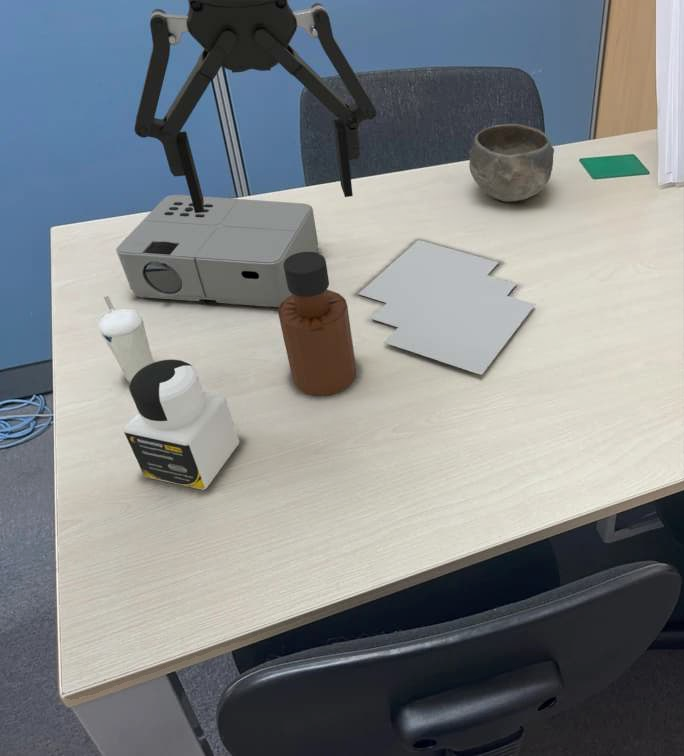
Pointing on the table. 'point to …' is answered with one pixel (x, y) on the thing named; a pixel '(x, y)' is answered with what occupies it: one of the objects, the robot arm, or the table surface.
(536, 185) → the bowl
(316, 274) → the stopper
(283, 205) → the projector
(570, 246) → the table surface
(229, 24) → the robot arm
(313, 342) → the bottle
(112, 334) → the milkshake
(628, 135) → the table surface
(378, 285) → the paper stack
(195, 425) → the medicine bottle
